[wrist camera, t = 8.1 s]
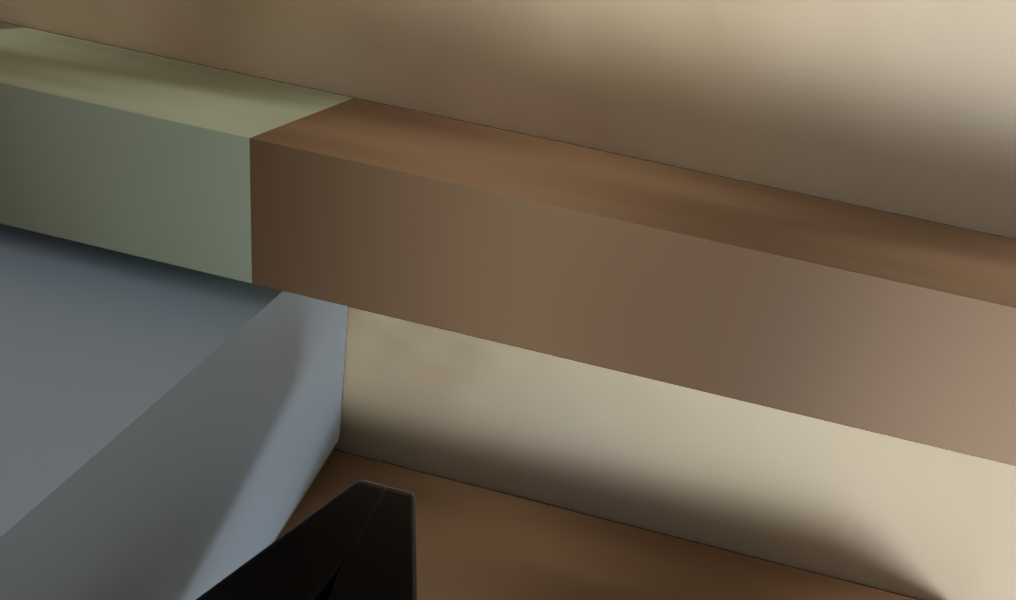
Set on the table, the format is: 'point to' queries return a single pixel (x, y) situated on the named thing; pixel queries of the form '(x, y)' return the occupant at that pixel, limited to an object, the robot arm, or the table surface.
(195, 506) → the block
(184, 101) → the u-shaped frame
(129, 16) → the table surface
